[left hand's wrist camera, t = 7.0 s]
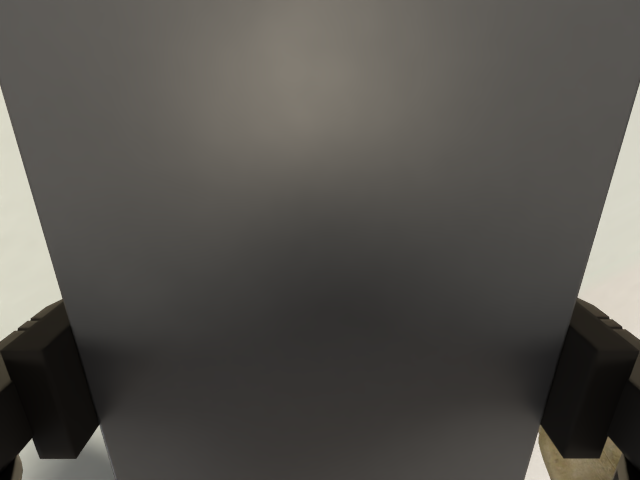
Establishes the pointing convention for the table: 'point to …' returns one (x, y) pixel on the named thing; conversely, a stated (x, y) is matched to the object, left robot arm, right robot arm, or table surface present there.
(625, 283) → the table surface
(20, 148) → the thick board
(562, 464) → the sculpture
